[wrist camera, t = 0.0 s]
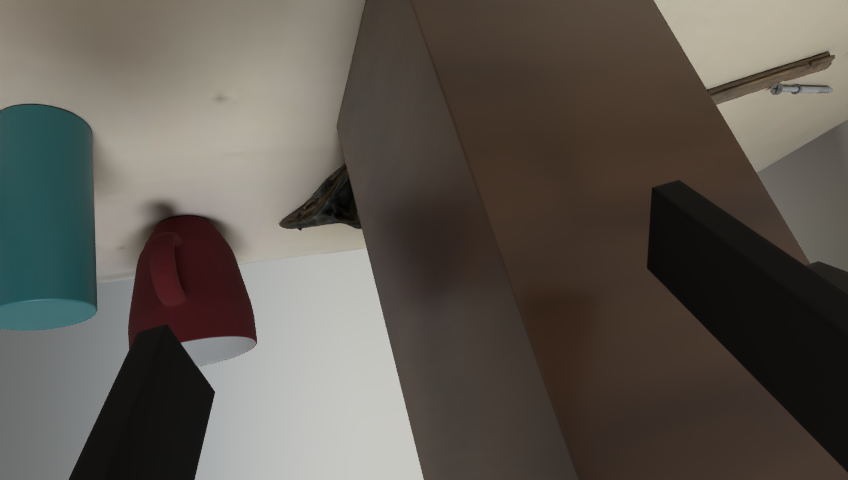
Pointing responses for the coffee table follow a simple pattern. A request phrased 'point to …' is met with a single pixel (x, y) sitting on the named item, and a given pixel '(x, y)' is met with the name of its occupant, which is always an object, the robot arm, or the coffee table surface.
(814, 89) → the wall anchor
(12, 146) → the teal cylinder
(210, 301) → the mug
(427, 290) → the stand
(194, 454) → the robot arm
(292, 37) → the coffee table surface
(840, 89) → the coffee table surface
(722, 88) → the wooden plank
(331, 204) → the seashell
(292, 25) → the coffee table surface
